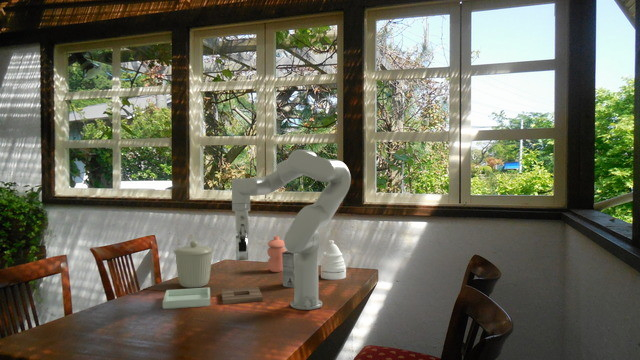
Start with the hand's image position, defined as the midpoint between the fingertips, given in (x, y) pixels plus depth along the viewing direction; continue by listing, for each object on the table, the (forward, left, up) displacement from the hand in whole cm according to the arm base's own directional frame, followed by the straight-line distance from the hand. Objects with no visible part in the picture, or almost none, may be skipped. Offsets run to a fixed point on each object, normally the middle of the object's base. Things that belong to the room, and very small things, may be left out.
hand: (242, 249), depth 193 cm
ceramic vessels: (+37, -27, -21) cm, 50 cm away
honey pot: (+28, -48, -21) cm, 59 cm away
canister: (+27, +20, -21) cm, 40 cm away
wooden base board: (0, 0, -20) cm, 20 cm away
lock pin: (0, 0, -4) cm, 4 cm away
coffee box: (+16, -25, -20) cm, 36 cm away
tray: (0, +22, -20) cm, 30 cm away
